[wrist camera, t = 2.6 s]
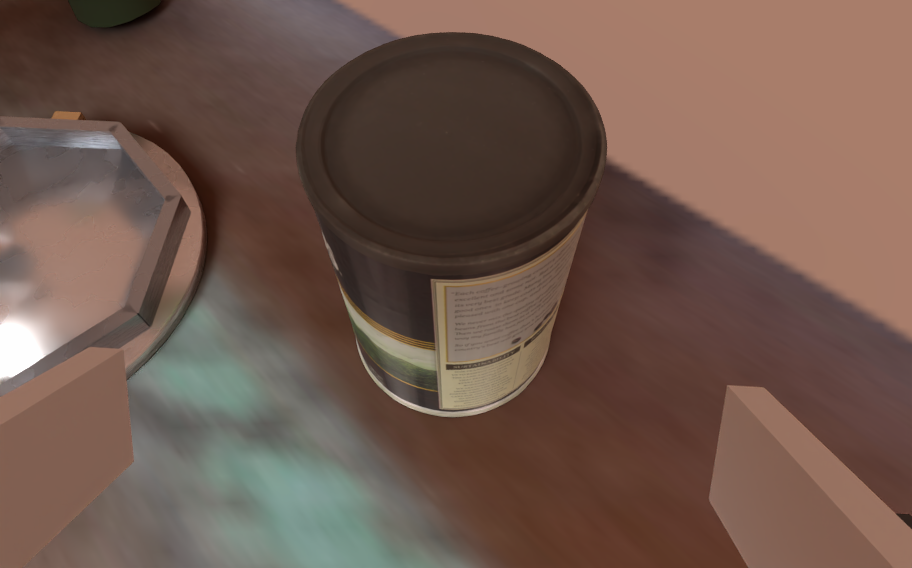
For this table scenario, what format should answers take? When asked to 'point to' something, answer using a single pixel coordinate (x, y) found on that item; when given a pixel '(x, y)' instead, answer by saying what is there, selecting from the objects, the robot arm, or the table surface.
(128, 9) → the character mug
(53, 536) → the robot arm
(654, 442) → the table surface
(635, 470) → the table surface
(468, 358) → the coffee can
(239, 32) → the table surface
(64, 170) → the locking base
